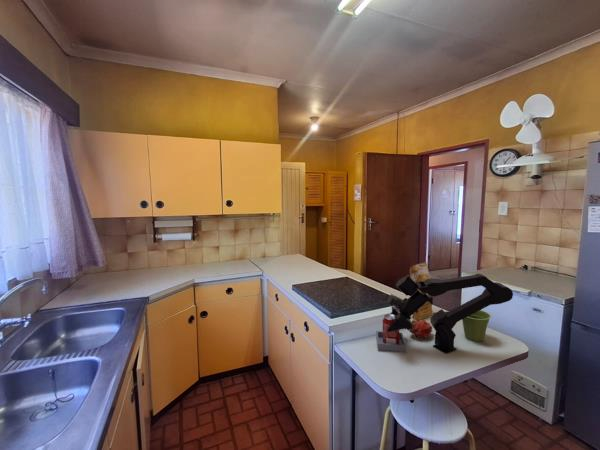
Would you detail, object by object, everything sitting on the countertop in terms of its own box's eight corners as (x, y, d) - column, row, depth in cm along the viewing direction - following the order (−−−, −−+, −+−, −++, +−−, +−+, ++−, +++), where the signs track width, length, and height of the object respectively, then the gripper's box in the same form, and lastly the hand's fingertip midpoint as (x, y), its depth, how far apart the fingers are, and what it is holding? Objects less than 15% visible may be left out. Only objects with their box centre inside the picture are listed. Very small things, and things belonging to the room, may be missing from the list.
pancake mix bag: (404, 318, 145) (404, 265, 142) (426, 309, 155) (426, 260, 153) (416, 322, 139) (416, 268, 137) (437, 313, 149) (437, 262, 147)
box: (402, 339, 123) (402, 332, 123) (406, 352, 112) (406, 345, 112) (376, 337, 125) (376, 331, 125) (377, 350, 114) (377, 343, 114)
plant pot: (453, 336, 124) (453, 312, 123) (467, 329, 130) (468, 306, 129) (481, 347, 114) (482, 321, 113) (495, 339, 120) (496, 314, 119)
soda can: (397, 349, 114) (397, 321, 113) (380, 345, 117) (380, 318, 116) (400, 341, 120) (400, 315, 119) (385, 338, 123) (384, 312, 122)
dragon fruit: (407, 341, 124) (428, 340, 127) (419, 337, 117) (442, 336, 121) (402, 322, 128) (422, 321, 132) (413, 317, 122) (435, 317, 125)
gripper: (396, 282, 125) (372, 305, 128) (403, 296, 107) (374, 323, 110) (415, 300, 124) (390, 322, 127) (425, 317, 106) (395, 343, 109)
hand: (387, 326), depth 118 cm, fingers open, 7 cm apart
